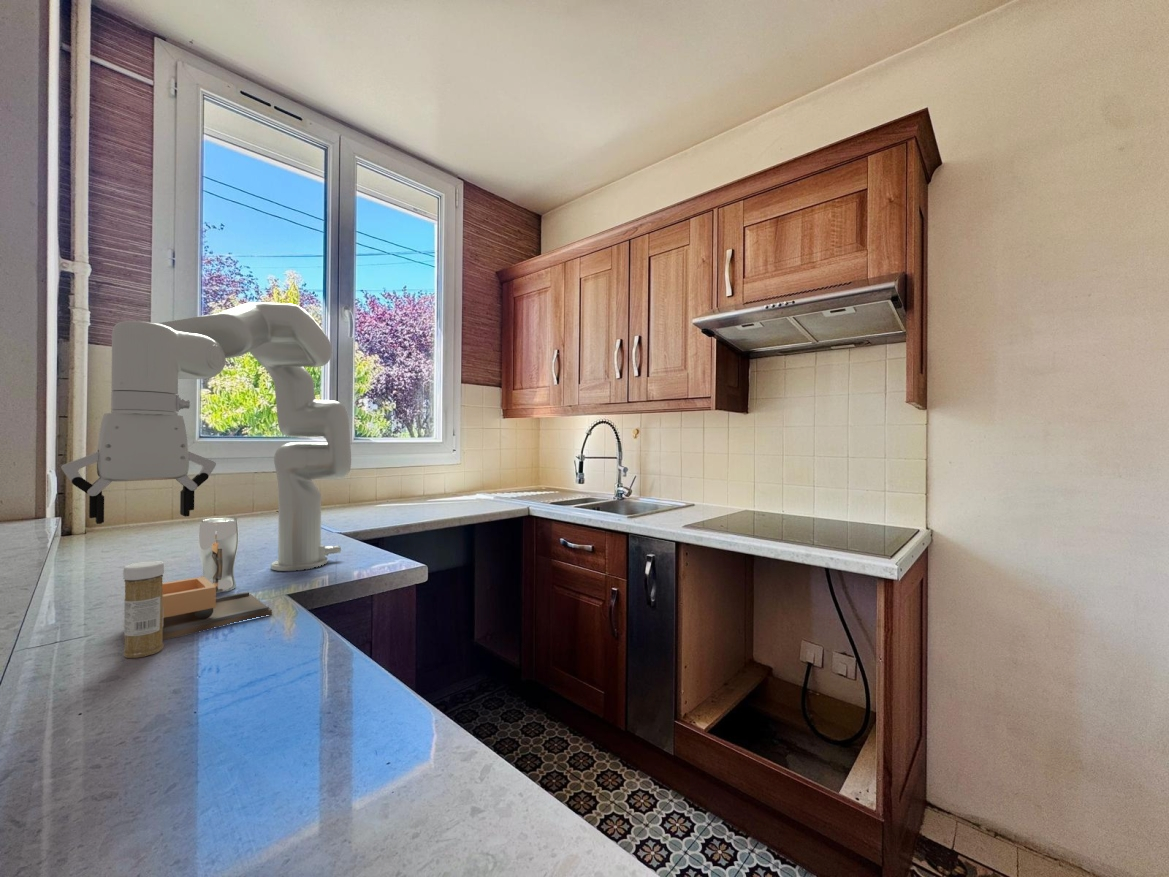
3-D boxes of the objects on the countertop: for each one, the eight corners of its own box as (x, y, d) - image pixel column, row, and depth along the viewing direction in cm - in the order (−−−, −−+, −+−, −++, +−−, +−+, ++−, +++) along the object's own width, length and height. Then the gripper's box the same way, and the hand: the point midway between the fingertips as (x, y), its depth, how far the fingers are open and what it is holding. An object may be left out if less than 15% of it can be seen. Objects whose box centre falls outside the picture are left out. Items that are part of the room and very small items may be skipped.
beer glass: (222, 595, 102) (222, 522, 102) (189, 594, 102) (189, 522, 102) (245, 585, 109) (246, 517, 109) (214, 585, 109) (215, 517, 109)
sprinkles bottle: (166, 644, 77) (167, 558, 77) (159, 655, 73) (159, 565, 73) (128, 650, 75) (128, 562, 75) (118, 662, 71) (118, 568, 71)
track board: (250, 598, 100) (250, 590, 100) (271, 615, 90) (271, 606, 90) (129, 622, 86) (129, 613, 86) (140, 645, 77) (140, 635, 77)
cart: (203, 604, 92) (203, 576, 92) (215, 617, 86) (215, 587, 86) (131, 618, 85) (131, 587, 85) (138, 633, 78) (138, 600, 78)
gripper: (210, 409, 83) (209, 511, 83) (61, 403, 71) (60, 523, 70) (221, 407, 78) (220, 515, 78) (62, 400, 65) (61, 529, 65)
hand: (144, 519), depth 74 cm, fingers open, 9 cm apart
